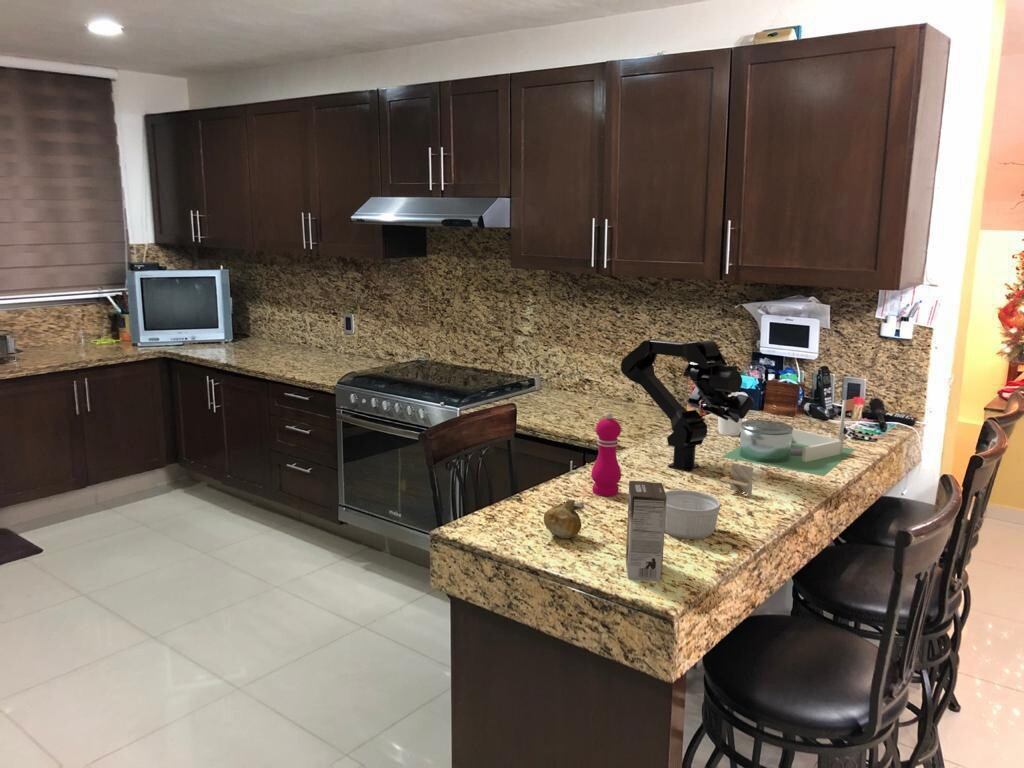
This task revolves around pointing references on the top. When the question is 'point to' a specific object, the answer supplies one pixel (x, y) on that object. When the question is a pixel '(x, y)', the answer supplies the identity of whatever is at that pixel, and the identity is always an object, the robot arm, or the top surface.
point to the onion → (564, 519)
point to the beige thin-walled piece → (820, 440)
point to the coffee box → (645, 530)
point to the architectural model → (740, 478)
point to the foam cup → (730, 422)
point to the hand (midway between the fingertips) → (732, 420)
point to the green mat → (800, 461)
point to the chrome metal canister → (765, 441)
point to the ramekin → (690, 514)
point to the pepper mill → (606, 458)
